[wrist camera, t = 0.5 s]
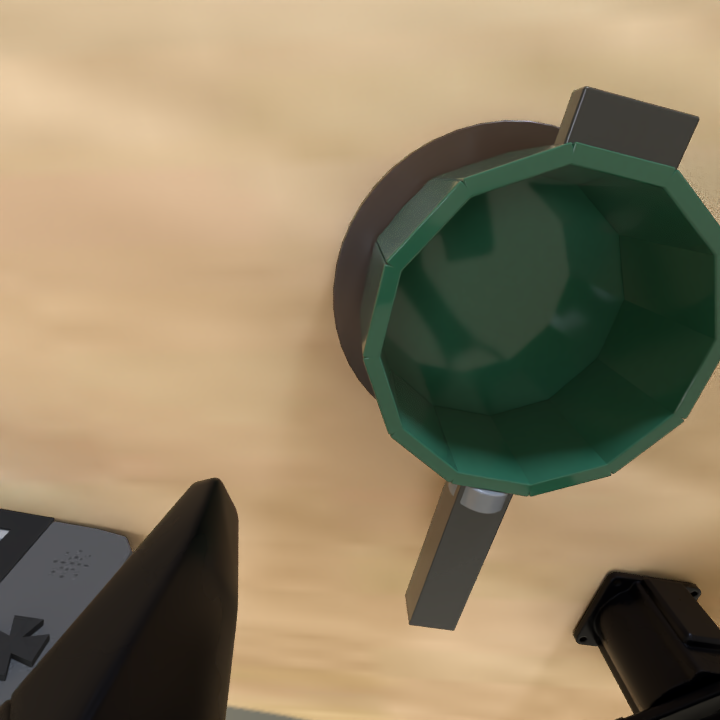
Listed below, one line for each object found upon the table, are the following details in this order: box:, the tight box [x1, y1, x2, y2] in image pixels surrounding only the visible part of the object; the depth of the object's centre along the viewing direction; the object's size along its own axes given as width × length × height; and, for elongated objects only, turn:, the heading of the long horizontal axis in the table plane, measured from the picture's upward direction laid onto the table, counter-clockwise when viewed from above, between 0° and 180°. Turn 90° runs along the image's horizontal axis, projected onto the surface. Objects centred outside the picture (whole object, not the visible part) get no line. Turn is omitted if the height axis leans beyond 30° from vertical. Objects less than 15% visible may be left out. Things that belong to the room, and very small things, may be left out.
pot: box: [359, 86, 720, 631], centre depth 19 cm, size 22×12×6 cm, turn 168°
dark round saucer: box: [333, 120, 560, 400], centre depth 21 cm, size 15×15×1 cm
